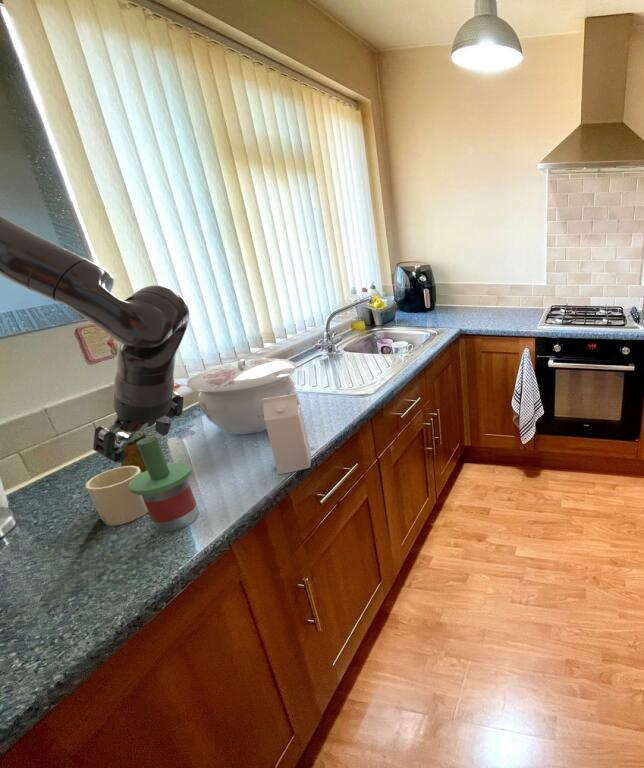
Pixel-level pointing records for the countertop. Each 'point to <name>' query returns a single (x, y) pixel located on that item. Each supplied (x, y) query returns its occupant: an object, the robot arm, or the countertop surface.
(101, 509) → the cup
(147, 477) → the lid
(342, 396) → the countertop surface
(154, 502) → the tin
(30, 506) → the countertop surface
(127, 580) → the countertop surface
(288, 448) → the milk carton
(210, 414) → the chamber pot
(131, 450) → the condiment
